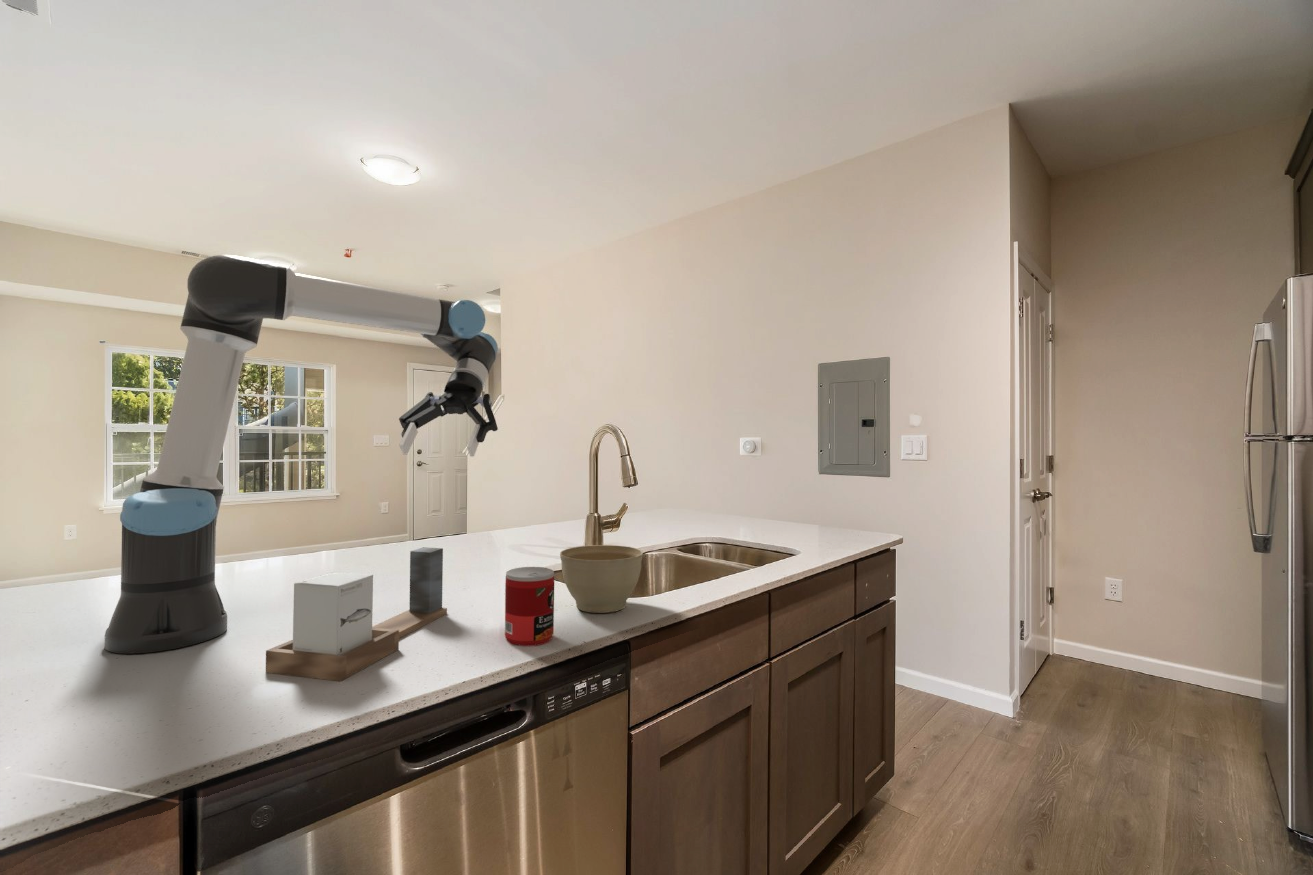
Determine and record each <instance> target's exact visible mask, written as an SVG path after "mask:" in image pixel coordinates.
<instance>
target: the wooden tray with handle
mask: <svg viewBox="0 0 1313 875" xmlns="http://www.w3.org/2000/svg"><path fill="white" fill-rule="evenodd" d="M409 554H410V555H409V609H408V610H406V611H403V612H402V613H399V614H397V615H394V616H393V617H390V618H388V619H386V620H384V621H382V622H380V623H377V624H375V625H372V640H370V641H368V642H366V643H364V644H362V645H360V646H358V647H356V648H354V649H352V650H350V651H348V652H346V653H344V654H342V655H332V654H323V653H314V652H304V651H295V650H293V639H291V640H288V641H287V642H286V641H285V642H284V643H281V644H278V645H276V646H274V647H272V648H268V649H267V650H265V673H268V674H269V673H270V674H276V675H285V676H292V677H302V678H310V679H317V680H318V679H319V680H327V681H328V680H329V681H336V682H342V681H344V680H345V679H348V678H349V677H352V676H353V675H355V674H356V673H359V672H361V671H362V670H364V669H365V668H367V667H369V666H370V665H373V664H376V663H377V662H378V661H380V660H382V659H384V658H386V657H387V656H390V655H391V654H393V653H395V652H396V651H398V650H399V649H400V648H399V647H400V646H399V645H400V642H399V640H400V639H401V638H402V637H405V636H407V635H409V634H410V633H412V632H414V631H416V630H418V629H420V628H422V627H423V626H425V625H427V624H430V623H432V622H434V621H436V620H437V619H439V618H442V617H443V616H445V615H447V614H448V608H447V607H443V575H444V574H443V572H444V571H443V564H444V561H443V560H444V548H443V547H420V548H417V549H414V550H410V551H409Z"/></svg>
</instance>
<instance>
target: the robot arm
mask: <svg viewBox="0 0 1313 875" xmlns="http://www.w3.org/2000/svg"><path fill="white" fill-rule="evenodd" d="M186 288H187V292H188V294H187V298H186V303H185V307H184V311H183V315H182V319H181V324H180V331H182V333H183V334H184V336H185V337H186V338H187V343H186V344H187V345H186V349H185V353H184V357H183V361H182V364H181V369H180V373H179V377H178V380H177V381H178V382H177V387H176V389H175V392H174V393H175V394H174V397H173V398H174V399H173V401H172V407H171V411H170V415H169V417H168V422H167V426H166V430H165V434H164V438H163V443H162V447H161V450H160V455H159V459H158V463H157V467H156V469H155V471H154V472H153V471H152V473H150V474H148V475H146V476H144V477H143V478H142V482H141V486H140V491H139V492H136V493H133V494H131V495H129V496H128V497H126V498H125V500H124V502H123V503H122V508H121V511H120V514H119V520H120V522H121V558H120V559H121V562H120V563H121V568H120V569H121V570H120V597H119V599H118V601H117V604H116V606H115V609H114V611H113V614H112V617H111V619H110V622H109V625H108V627H107V628H106V629H105V632H104V649H105V650H106V651H108V652H110V653H114V654H127V655H129V654H133V655H135V654H146V653H157V652H164V651H168V650H175V649H179V648H185V647H188V646H193V645H196V644H200V643H204V642H205V641H208V640H209V641H210V640H212V639H215V638H216V637H218V636H220V635H222V634H224V633H225V632H226V631H227V630H228V613H227V611H226V610H225V608H224V604H223V601H222V599H221V596H220V593H219V591H218V589H217V586H216V582H215V581H216V533H217V530H216V527H217V523H218V522H217V521H218V515H219V511H220V506H221V502H222V498H223V493H224V490H225V486H224V485H223V484H222V483H221V482H220V481H219V479H218V478H217V475H218V471H219V468H220V467H219V466H220V463H221V459H222V454H223V449H224V445H225V440H226V436H227V432H228V428H229V424H230V420H231V414H232V411H233V407H234V403H235V400H236V399H235V397H236V393H237V390H238V385H239V382H240V376H241V373H242V367H243V363H244V359H245V355H246V353H248V352H249V351H251V350H252V349H255V348H257V346H258V342H259V337H260V334H261V329H262V324H263V320H264V319H271V320H272V319H273V320H279V321H286V320H287V319H288V318H290V317H300V318H305V319H306V318H307V319H314V320H322V321H328V322H335V323H342V324H349V325H358V326H363V327H371V328H372V327H373V328H378V329H386V330H393V331H400V332H401V331H402V332H408V333H415V334H420V335H421V336H422V338H424V339H426V340H428V341H429V342H430V343H432V344H433V345H434V346H436V347H437V348H438V349H440V350H442V351H443V352H444V353H446V354H447V355H448V356H449V357H451V358H452V359H453V360H454V361H456V363H455V365H454V367H453V369H452V371H451V373H450V376H449V378H448V380H447V382H446V384H445V386H444V390H443V393H441V394H440V395H434V393H433V392H432V391H430V392H428V393H426V395H425V396H424V398H423V399H422V400H420V401H419V402H418V403H416V404H415V405H414V406H413V407H411V408H410V409H409V410H407V411H406V412H405V413H404V414H402V415H401V416H400V417H399V418H398V420H399V423H400V425H401V428H402V429H403V430H402V432H401V434H400V435H401V437H402V438H401V441H400V442H399V448H400V450H401V452H402V454H403V455H408V453H409V451H410V449H411V448H412V445H413V444H414V441H415V439H416V437H417V435H418V433H419V431H418V429H419V428H422V427H423V426H425V425H427V424H429V423H431V422H432V421H433V420H435V419H437V418H439V417H444V416H446V415H455V414H456V415H464V414H465V413H466V415H467V416H468V417H469V418H471V419H472V420H473V422H474V424H475V425H474V428H473V431H472V434H471V435H470V439H469V441H468V443H467V446H466V448H467V451H468V454H469V456H470V457H475V456H476V452H477V450H478V447H479V444H480V443H484V441H485V440H486V436H487V433H489V431H492V432H497V431H498V430H499V429H498V428H499V427H498V425H497V421H496V417H495V416H494V412H493V409H492V399H491V395H490V394H489V393H485V394H483V396H481V395H482V392H483V390H484V387H485V385H486V382H487V379H488V377H489V374H490V372H491V371H492V370H491V369H492V368H493V365H494V363H495V362H496V360H497V359H496V358H497V354H498V349H499V347H498V343H497V341H496V339H495V338H494V337H493V336H492V335H490V334H489V333H486V332H484V331H483V330H484V328H485V325H486V315H485V314H486V313H485V312H484V309H483V308H482V307H481V306H480V305H479V304H478V303H477V302H475V301H473V300H470V299H460V300H457V301H456V300H455V301H452V300H445V299H439V298H435V297H428V296H423V295H417V294H413V293H407V292H401V291H395V290H392V289H391V290H389V289H385V288H379V287H375V286H374V287H373V286H368V285H362V284H357V283H351V282H345V281H341V280H334V279H329V278H324V277H319V276H313V275H307V274H303V273H296V272H294V271H293V270H292V269H291V268H290V267H289V266H288V265H285V264H279V263H273V262H270V261H264V260H259V259H254V258H249V257H244V256H239V255H231V254H218V255H213V256H208V257H206V258H204V259H202V260H200V261H199V262H197V263H196V264H195V265H194V266H193V267H192V268H191V271H189V274H188V278H187V287H186ZM479 404H480V406H482V407H483V409H484V411H485V413H486V417H487V420H488V421H486V419H485V418H484V417H483V416H482V415H481V414H480V413H479V411H478V410H477V409H476V408H475V407H477V406H478V405H479ZM442 408H443V409H442Z"/></svg>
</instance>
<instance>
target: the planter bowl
mask: <svg viewBox="0 0 1313 875" xmlns="http://www.w3.org/2000/svg"><path fill="white" fill-rule="evenodd" d="M559 555H560V556H559V557H560V561H561V571H562V577H563V580H564V583H565V585H566V588H567V590H568V592H569V593H570V596H571V597H572V598H573V599H574V601H575V604H576V608H577V609H578V610H580V611H582V612H585V613H590V614H592V613H597V614H603V613H604V614H605V613H615V612H617V611H620V610H623V609H624V608H625V607H626V605H627V600H628V599H629V598H630V596H631V595H632V594H633V592H634V590H635V588H636V586H637V583H638V582H639V579H640V575H641V570H642V560H643V557H644V552H643V550H641V549H640V548H637V547H631V546H626V545H613V544H612V545H611V544H608V545H607V544H605V545H604V544H599V545H597V544H594V545H581V546H574V547H568V548H565V549H563V550H561V551H560V554H559Z"/></svg>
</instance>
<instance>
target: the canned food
mask: <svg viewBox="0 0 1313 875" xmlns="http://www.w3.org/2000/svg"><path fill="white" fill-rule="evenodd" d="M504 584H505V585H504V586H505V588H504V589H505V590H504V591H505V594H504V595H505V597H504V599H505V600H504V637H505V640H506V641H507V642H509V644H511V645H514V646H519V647H533V646H539V645H544V644H546V643H548V642H550V641H551V640H552V638H553V635H554V630H555V629H554V628H555V626H554V624H555V622H554V621H555V571H554V570H553V569H551V568H548V567H542V566H523V567H522V566H521V567H515V568H512V569H509V570H507V571H506V572H505V583H504Z"/></svg>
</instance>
